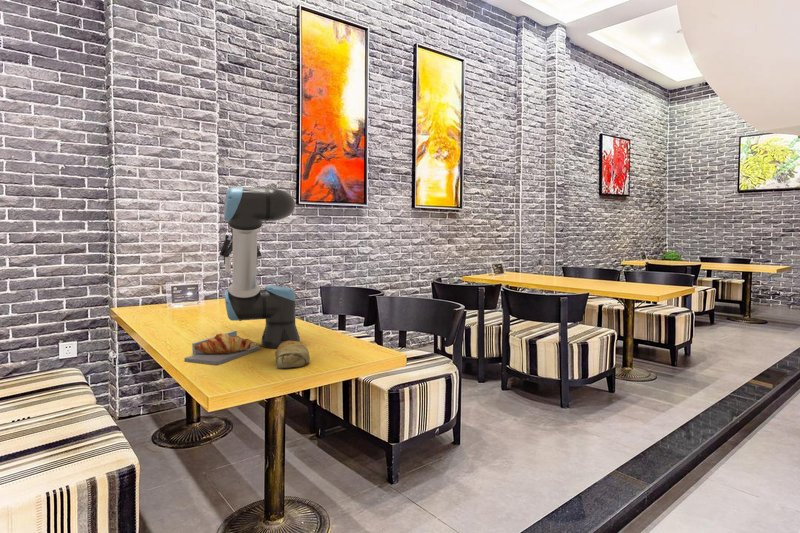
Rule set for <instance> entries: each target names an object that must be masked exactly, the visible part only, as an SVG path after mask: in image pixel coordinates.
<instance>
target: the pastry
mask: <svg viewBox="0 0 800 533" xmlns="http://www.w3.org/2000/svg"><path fill="white" fill-rule="evenodd" d="M274 356H275V361H276V365H275V366H276V369H278V368H280V369H289V368H290V369H291V368H297V367H298V368H301V367H305V366H306V365H307V364H309V362H310V351H309V350H308V348H307V346H306V345H305V344H304V343H303V342H302V341H300V342H297V341H291V340H288V341H284V342H282V343H281V344H280V345H279V346H278V348H276V350H275V353H274Z"/></svg>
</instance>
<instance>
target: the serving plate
mask: <svg viewBox="0 0 800 533" xmlns="http://www.w3.org/2000/svg"><path fill="white" fill-rule="evenodd" d="M258 349H259V350H260V349H261V347H260V345H255V346H254V347H253V348H250V349H245V350H242V351H237V352H232V353H222V354H208V353H204V352H201V353H198V354H192V355H190V356H187V357H183V358H184V362H185V361H187V362H188V363H194V362H195V364H201V365H202V364H205V365H211V366H219V364H220V365H223V364H225V363H228V362H230V361H232V360H235V359H237V358H240V357H243V356H246V355H248V354H250V353H253V352H255V351H258Z"/></svg>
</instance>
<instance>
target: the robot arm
mask: <svg viewBox="0 0 800 533" xmlns="http://www.w3.org/2000/svg"><path fill="white" fill-rule="evenodd" d="M295 208H296V202H295V199H294V197H293V195H291V194H290V193H289V192H287V191H285V190H281V189H278V188H274V187H273V188H271V187H247V186H246V187H244V186H239V187H237V186H235V187H233V186H231V187H229V188H227V191H226V193H225V197H224V209H223V220H224V221H226V222H227V225H228V226H229V227H230V234H226V235H225V237H224V242H223V245H222V247H221V249H220V252H219V255H220V256H221V257H223V264H224V265H225V267H224V268H225V270H224V271H225V273H227V272H231V270H232V283H231V284H230V285H229V286H228V290H226V291H224V301H225V308H226V310H225V311H226V313H227V318H228V319H229V321H234V322H235V321H239V322H242V321H253V320H257V321H258V320H265V327H264V330H263V333H262V336H261V339H260V340H261V342H260V343H261V344H260V345H261V346H262V347H264V348H270V349H277V348H278V346H279V345H280V344H281V343H282V342H284V341H288V340H291V341H297V342H301V337H300V333H299V330H298V328H297V325H296V292H295V290H294V289H293V288H291V287H287V286H282V285H281V286H280V285H265V287H264V289H261V287H260V285H259V284H258V283H257V270H258V269H257V268H258V266H257V265H258V258H260V257H262V253H261V251H260V248H259V246H258V231H259V230H260V229H261V228H262V227H263V222H274V221H276V222H277V221H280V220H283V219H286V218H289V217H290V216H291V215H292V214H293V212H294V210H295ZM231 254H232V268H231V257H230V255H231Z"/></svg>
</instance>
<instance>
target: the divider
mask: <svg viewBox="0 0 800 533" xmlns="http://www.w3.org/2000/svg"><path fill="white" fill-rule="evenodd" d="M224 334H228V335H229V336H230V337H232V336H238V332H237V330H232V331H229V332H226V333H224ZM214 337H215V336H212V337H209V338H206V339H202V340H198V341H195V342H193V343H192V344H191V345H192V346H191V348H192V355H195V354H198V353H201V352H200V351H197V350H196V349H195V347H194V346H195V345H199V344H200V343H202V342H207V341H208V340H209V339H211V338H214Z"/></svg>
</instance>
